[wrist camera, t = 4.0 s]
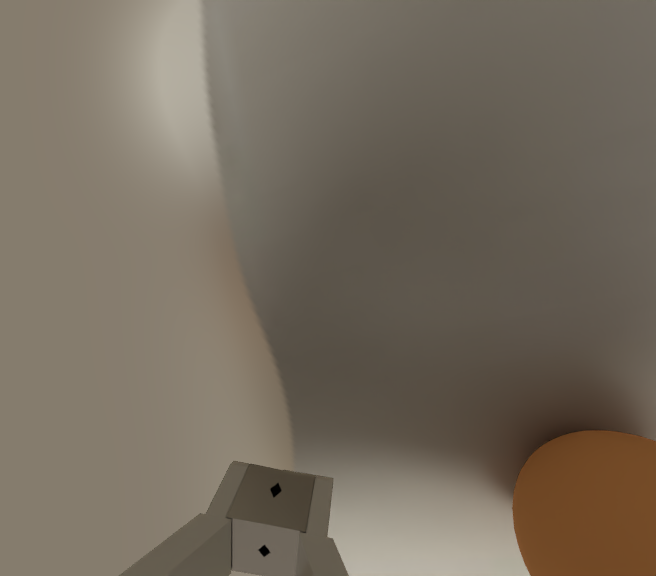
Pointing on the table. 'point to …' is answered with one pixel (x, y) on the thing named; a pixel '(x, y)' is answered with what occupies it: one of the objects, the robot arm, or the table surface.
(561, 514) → the ball
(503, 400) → the table surface
